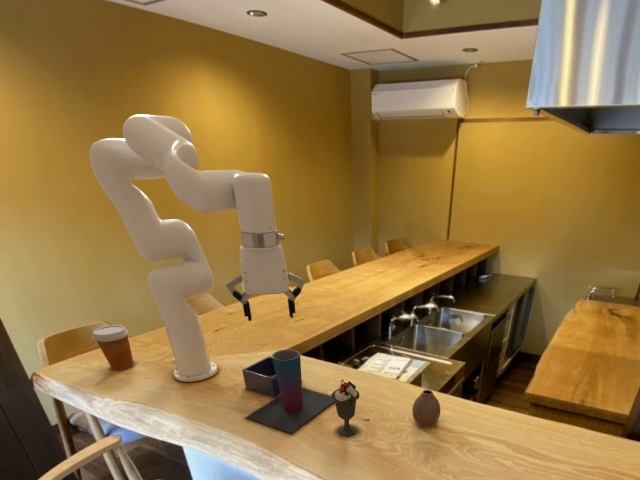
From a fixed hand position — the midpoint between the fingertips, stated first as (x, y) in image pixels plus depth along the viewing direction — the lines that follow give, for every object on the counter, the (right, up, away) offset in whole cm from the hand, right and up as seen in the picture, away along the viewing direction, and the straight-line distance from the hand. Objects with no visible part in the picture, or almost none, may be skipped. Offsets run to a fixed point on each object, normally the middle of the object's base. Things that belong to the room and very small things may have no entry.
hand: (270, 317), depth 100 cm
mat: (+3, -21, +12) cm, 24 cm away
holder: (-5, -14, +23) cm, 27 cm away
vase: (+38, -25, +6) cm, 46 cm away
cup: (+3, -21, +12) cm, 24 cm away
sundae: (+18, -27, +3) cm, 33 cm away
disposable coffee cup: (-57, -6, +35) cm, 67 cm away
